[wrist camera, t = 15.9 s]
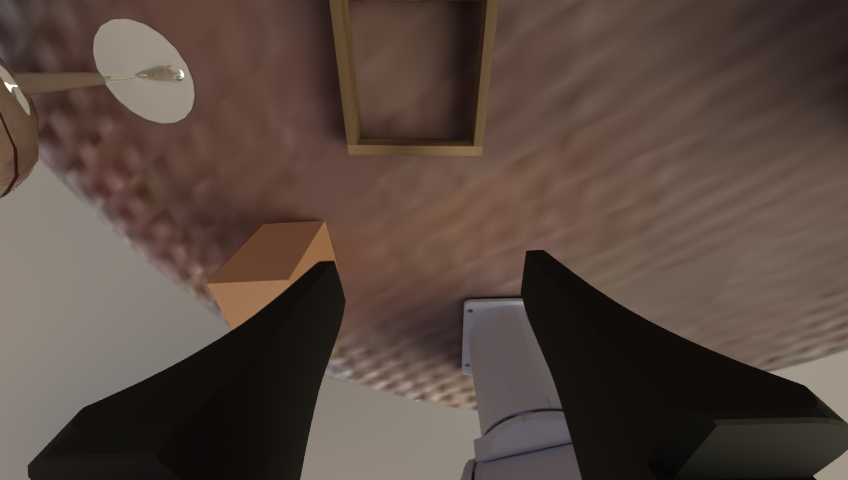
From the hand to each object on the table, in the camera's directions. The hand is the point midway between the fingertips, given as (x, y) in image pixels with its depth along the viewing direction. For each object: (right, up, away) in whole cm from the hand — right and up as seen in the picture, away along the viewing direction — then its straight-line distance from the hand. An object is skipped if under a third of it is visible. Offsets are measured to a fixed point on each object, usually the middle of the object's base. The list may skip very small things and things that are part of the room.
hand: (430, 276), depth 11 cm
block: (-9, +1, +11) cm, 14 cm away
